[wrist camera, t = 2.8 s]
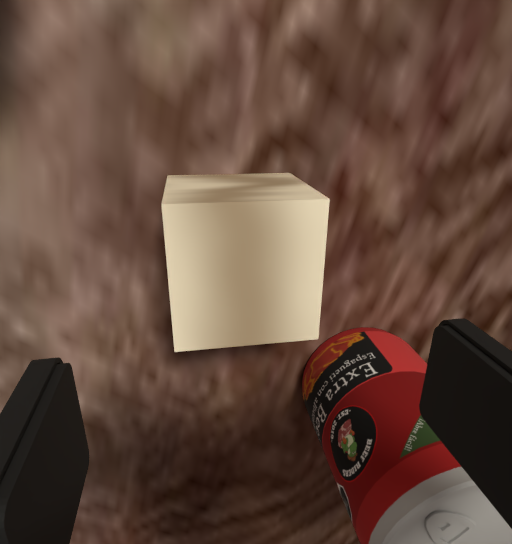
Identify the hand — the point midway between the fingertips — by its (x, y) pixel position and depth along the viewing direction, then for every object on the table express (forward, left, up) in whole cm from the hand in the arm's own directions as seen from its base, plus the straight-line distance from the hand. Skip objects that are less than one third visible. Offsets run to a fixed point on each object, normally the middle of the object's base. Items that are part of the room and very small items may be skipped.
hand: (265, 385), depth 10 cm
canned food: (-8, +10, -12) cm, 17 cm away
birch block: (0, 0, -12) cm, 12 cm away
